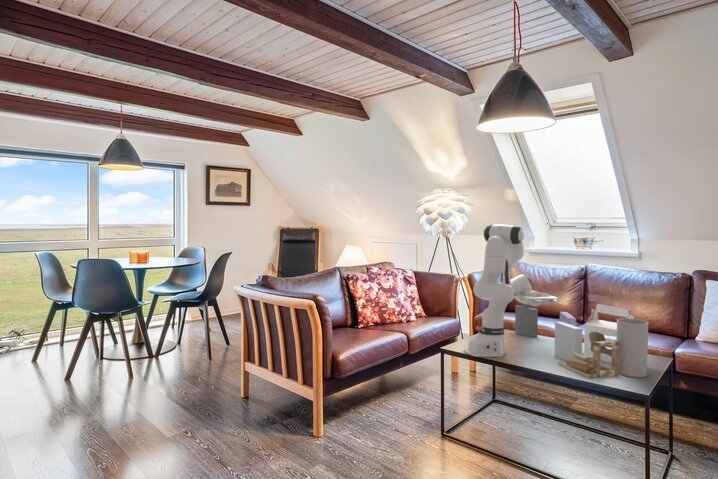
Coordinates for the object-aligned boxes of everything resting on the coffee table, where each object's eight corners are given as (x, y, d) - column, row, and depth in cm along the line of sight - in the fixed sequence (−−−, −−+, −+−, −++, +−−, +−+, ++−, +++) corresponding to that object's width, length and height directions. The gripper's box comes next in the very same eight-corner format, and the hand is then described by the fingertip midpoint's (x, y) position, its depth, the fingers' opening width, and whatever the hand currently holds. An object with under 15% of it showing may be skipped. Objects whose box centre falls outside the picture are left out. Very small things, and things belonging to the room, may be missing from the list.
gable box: (640, 363, 224) (641, 308, 223) (626, 367, 217) (628, 311, 216) (597, 352, 243) (598, 301, 242) (583, 355, 236) (584, 304, 235)
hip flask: (538, 337, 275) (538, 305, 274) (534, 337, 273) (534, 305, 272) (517, 331, 288) (517, 301, 288) (513, 332, 286) (513, 301, 285)
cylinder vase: (612, 368, 215) (613, 317, 214) (641, 370, 212) (643, 319, 211) (619, 376, 203) (621, 323, 202) (650, 379, 200) (652, 325, 199)
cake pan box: (576, 349, 247) (577, 318, 247) (566, 349, 248) (567, 318, 248) (566, 340, 266) (567, 311, 266) (557, 340, 267) (558, 311, 266)
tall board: (574, 364, 221) (575, 329, 220) (554, 355, 237) (555, 322, 236) (581, 364, 222) (582, 328, 221) (561, 354, 237) (561, 321, 237)
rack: (587, 378, 201) (588, 343, 201) (558, 364, 221) (559, 332, 220) (618, 375, 205) (619, 341, 204) (587, 362, 224) (588, 331, 224)
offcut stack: (585, 373, 203) (585, 358, 202) (566, 365, 215) (566, 350, 215) (595, 373, 204) (596, 358, 204) (576, 364, 217) (576, 350, 216)
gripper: (518, 293, 257) (532, 296, 244) (549, 293, 262) (564, 296, 248) (517, 303, 258) (532, 308, 244) (548, 303, 262) (564, 308, 249)
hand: (548, 302), depth 246 cm, fingers open, 8 cm apart
